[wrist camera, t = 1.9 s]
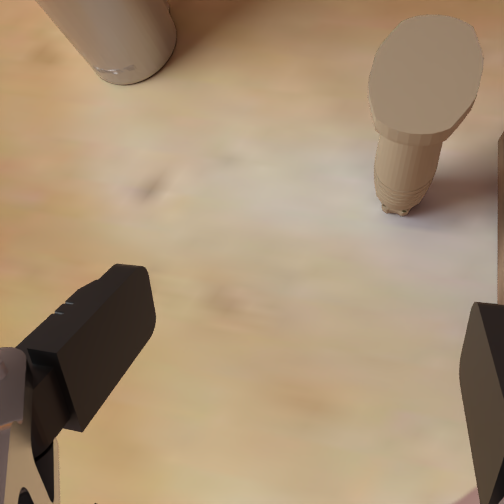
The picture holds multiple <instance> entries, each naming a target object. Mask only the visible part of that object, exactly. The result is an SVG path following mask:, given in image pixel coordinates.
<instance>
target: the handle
mask: <svg viewBox="0 0 504 504" xmlns="http://www.w3.org/2000/svg"><path fill="white" fill-rule="evenodd" d="M483 63H484V58H483V53H482V49H481V46H480V43H479V40H478V38H477V35H476V33H475V30H474V28H473V27H472V26H471V25H470V24H468V23H466V22H464V21H462V20H460V19H458V18H454V17H450V16H444V15H421V16H415V17H412V18H409V19H406V20H404V21H401V22H400V23H399V24H398V26H397V27H396V28H395V29H394V30H393V31H392V32H391V33H390V34H389V35H388V37H387V38H386V39H385V40H384V41H383V43H382V44H381V45H380V47H379V48H378V50H377V53H376V55H375V58H374V61H373V65H372V69H371V72H370V76H369V82H368V102H369V107H370V112H371V117H372V120H373V124H374V127H375V130H376V131H377V132H378V133H379V134H380V137H379V142H378V147H377V152H376V157H375V165H374V182H375V189H376V195H377V197H378V198H379V200H380V201H381V203H382V210H383V211H384V212H385V213H396V214H399V215H400V216H405V215H407V214H408V212H409V210H410V209H411V208H412V207H414V206H415V205H418V204H419V203H420V202H421V200H422V198H423V197H424V195H425V194H426V192H427V190H428V188H429V186H430V184H431V182H432V180H433V177H434V175H435V172H436V169H437V165H438V160H439V156H440V151H441V147H442V142H443V141H445V140H446V139H447V138H448V137H449V136H450V135H451V134H452V133H453V132H454V131H455V130H456V129H457V127H458V126H459V125H460V124H461V122H462V121H463V120H464V119H465V117H466V116H467V114H468V113H469V112H470V110H471V108H472V106H473V104H474V101H475V99H476V96H477V92H478V89H479V85H480V80H481V76H482V71H483Z"/></svg>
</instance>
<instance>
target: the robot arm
mask: <svg viewBox="0 0 504 504" xmlns="http://www.w3.org/2000/svg"><path fill="white" fill-rule="evenodd" d="M36 2H37V3H38V4H39V5H40V6H41V8H42V9H43V10H44V11H45V12H46V14H47V15H48V16H49V17H50V18H51V20H52V21H53V22H54V23H55V24H56V26H57V27H58V28H59V29H60V30H61V32H62V33H63V34H64V35H65V36H66V38H67V39H68V40H69V41H70V42H71V44H72V45H73V46H74V47H75V48H76V50H77V51H78V52H79V53H80V54H81V56H82V57H83V58H84V59H85V60H86V61H87V63H88V64H89V65H90V66H91V67H92V69H93V70H94V71H95V72H96V73H97V74H98V75H99V77H100V78H102V79H103V80H105V81H107V82H110V83H113V84H120V85H126V84H133V83H136V82H139V81H142V80H144V79H146V78H148V77H150V76H152V75H153V74H154V73H156V72H157V71H158V70H159V69H160V68H161V67H162V66H163V65H164V64H165V63H166V62H167V60H168V59H169V57H170V56H171V54H172V52H173V49H174V47H175V43H176V28H175V25H174V22H173V20H172V18H171V16H170V14H169V8H170V6H169V4H168V2H167V0H36ZM155 323H156V313H155V308H154V302H153V297H152V291H151V286H150V280H149V275H148V272H147V270H146V268H145V267H143V266H135V265H125V264H115V265H113V266H112V267H111V268H110V269H109V270H108V271H107V272H106V273H105V274H104V275H103V276H102V277H101V278H100V279H99V280H95V281H93V282H91V283H89V284H87V285H86V286H84V287H82V288H80V289H78V290H77V291H76V292H75V293H74V294H73V295H72V296H71V297H70V298H68V299H67V300H66V301H65V304H62V305H61V306H60V307H59V308H58V309H57V310H55V313H54V314H51V315H50V316H49V317H48V318H47V319H46V320H45V321H44V322H42V323H41V324H40V325H39V326H38V327H37V328H36V329H35V330H34V331H33V332H32V333H31V334H29V335H28V336H27V337H26V338H25V339H24V340H23V341H22V342H21V343H20V344H19V345H18V346H16V347H15V348H12V347H3V348H0V504H60V473H59V445H58V441H57V439H56V436H57V435H58V434H59V432H60V431H61V430H62V428H64V429H69V430H74V431H78V432H83V431H84V429H85V428H86V427H87V425H88V424H89V422H90V421H91V420H92V418H93V417H94V415H95V414H96V413H97V411H98V410H99V409H100V407H101V406H102V404H103V403H104V402H105V400H106V399H107V397H108V396H109V395H110V393H111V392H112V390H113V389H114V388H115V386H116V385H117V383H118V382H119V381H120V379H121V378H122V376H123V375H124V374H125V372H126V371H127V369H128V368H129V367H130V365H131V364H132V363H133V361H134V360H135V358H136V357H137V356H138V354H139V353H140V351H141V350H142V349H143V347H144V346H145V344H146V343H147V342H148V340H149V339H150V337H151V336H152V334H153V331H154V328H155ZM459 379H460V387H461V393H462V399H463V405H464V411H465V416H466V422H467V428H468V434H469V440H470V446H471V452H472V458H473V464H474V470H475V476H476V481H477V487H478V493H479V499H480V504H504V305H501V304H491V303H481V302H474V304H473V306H472V308H471V312H470V317H469V321H468V326H467V330H466V335H465V339H464V344H463V348H462V353H461V358H460V368H459ZM95 504H96V503H95Z"/></svg>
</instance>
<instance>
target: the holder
mask: <svg viewBox="0 0 504 504" xmlns="http://www.w3.org/2000/svg"><path fill="white" fill-rule="evenodd" d="M498 304H501V305H504V132H503V134H502V135H501V137H500V139H499V141H498Z"/></svg>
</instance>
